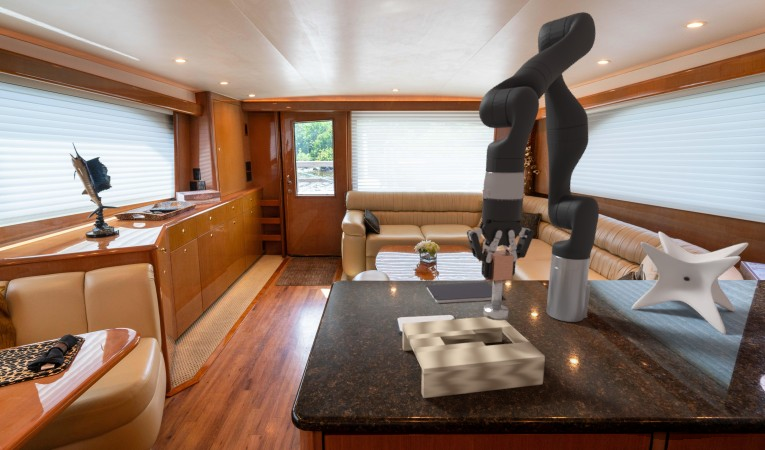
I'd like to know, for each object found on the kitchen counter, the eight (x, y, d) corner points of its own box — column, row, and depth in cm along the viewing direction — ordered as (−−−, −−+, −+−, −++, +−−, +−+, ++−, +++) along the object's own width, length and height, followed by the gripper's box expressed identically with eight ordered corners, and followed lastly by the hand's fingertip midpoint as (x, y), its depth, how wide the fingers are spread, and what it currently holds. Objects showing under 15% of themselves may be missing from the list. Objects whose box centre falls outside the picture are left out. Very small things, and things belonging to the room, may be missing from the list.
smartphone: (398, 338, 90) (462, 335, 91) (398, 332, 90) (462, 329, 91) (395, 322, 99) (453, 319, 100) (395, 316, 98) (453, 313, 99)
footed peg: (501, 309, 80) (504, 249, 77) (512, 319, 75) (517, 256, 72) (479, 310, 79) (482, 250, 76) (489, 321, 74) (493, 257, 71)
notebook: (486, 286, 124) (425, 289, 122) (486, 281, 124) (425, 285, 122) (503, 300, 112) (436, 304, 109) (503, 296, 112) (436, 299, 109)
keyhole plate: (498, 338, 89) (500, 315, 87) (542, 384, 71) (545, 356, 70) (402, 347, 85) (402, 323, 84) (423, 398, 67) (424, 368, 66)
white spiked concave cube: (630, 309, 105) (640, 241, 101) (649, 291, 118) (658, 231, 114) (725, 334, 90) (740, 256, 86) (734, 311, 103) (748, 242, 99)
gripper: (525, 192, 77) (519, 270, 80) (461, 193, 74) (458, 274, 78) (547, 196, 69) (539, 282, 73) (476, 198, 67) (472, 286, 70)
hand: (497, 277), depth 75 cm, fingers closed on footed peg, 4 cm apart
